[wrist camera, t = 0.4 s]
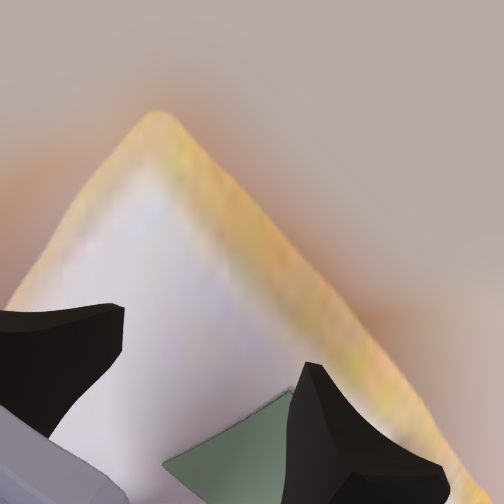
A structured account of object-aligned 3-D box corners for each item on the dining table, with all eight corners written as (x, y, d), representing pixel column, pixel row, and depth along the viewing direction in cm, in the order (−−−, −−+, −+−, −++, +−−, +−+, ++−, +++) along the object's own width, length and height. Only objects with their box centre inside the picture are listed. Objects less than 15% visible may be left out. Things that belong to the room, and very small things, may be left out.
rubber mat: (248, 529, 22) (247, 531, 22) (162, 463, 23) (161, 465, 22) (370, 472, 21) (370, 474, 21) (289, 390, 21) (289, 392, 21)
